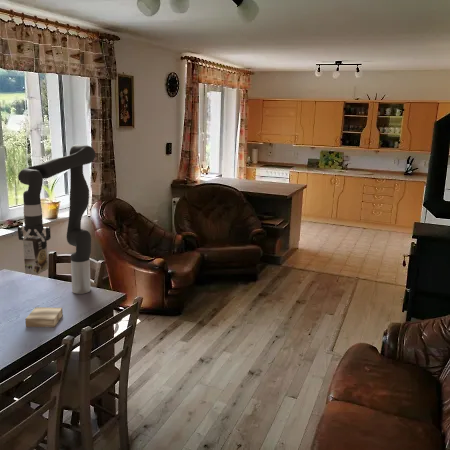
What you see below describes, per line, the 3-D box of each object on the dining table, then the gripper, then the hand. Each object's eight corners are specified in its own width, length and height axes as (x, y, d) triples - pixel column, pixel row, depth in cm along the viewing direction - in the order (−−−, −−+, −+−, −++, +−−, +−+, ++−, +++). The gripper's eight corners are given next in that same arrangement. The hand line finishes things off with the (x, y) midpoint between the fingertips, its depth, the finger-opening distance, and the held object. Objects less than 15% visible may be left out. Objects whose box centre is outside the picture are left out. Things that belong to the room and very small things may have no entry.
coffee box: (37, 275, 202) (35, 241, 198) (24, 273, 204) (22, 239, 200) (49, 268, 211) (46, 235, 207) (36, 267, 212) (34, 234, 208)
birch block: (36, 315, 205) (35, 307, 204) (62, 315, 206) (62, 307, 205) (26, 327, 193) (25, 319, 192) (54, 327, 194) (53, 319, 193)
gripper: (52, 212, 205) (54, 246, 209) (20, 211, 204) (22, 246, 208) (46, 216, 197) (48, 251, 201) (13, 215, 197) (16, 250, 201)
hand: (35, 248), depth 205 cm, fingers closed on coffee box, 7 cm apart
